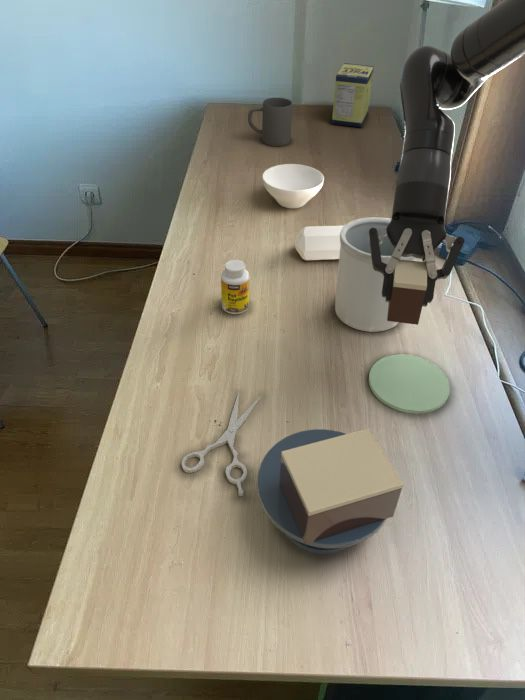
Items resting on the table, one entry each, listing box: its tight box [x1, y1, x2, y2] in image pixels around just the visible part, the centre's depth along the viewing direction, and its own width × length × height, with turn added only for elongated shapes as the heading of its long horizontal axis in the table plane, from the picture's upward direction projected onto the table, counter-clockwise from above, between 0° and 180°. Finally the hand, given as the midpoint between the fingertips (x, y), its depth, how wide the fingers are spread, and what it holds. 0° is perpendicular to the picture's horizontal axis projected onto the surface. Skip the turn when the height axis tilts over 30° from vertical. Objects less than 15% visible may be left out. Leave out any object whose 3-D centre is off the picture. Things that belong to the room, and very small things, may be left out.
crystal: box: [294, 224, 346, 261], centre depth 129 cm, size 7×7×24 cm
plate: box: [368, 353, 451, 415], centre depth 99 cm, size 14×14×1 cm
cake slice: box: [387, 260, 427, 326], centre depth 82 cm, size 4×6×7 cm
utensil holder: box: [334, 217, 418, 333], centre depth 109 cm, size 15×15×18 cm
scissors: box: [181, 391, 263, 497], centre depth 89 cm, size 11×1×20 cm
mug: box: [247, 97, 293, 147], centre depth 176 cm, size 14×9×12 cm
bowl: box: [261, 163, 325, 209], centre depth 147 cm, size 16×16×7 cm
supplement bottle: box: [220, 259, 250, 315], centre depth 112 cm, size 6×6×10 cm
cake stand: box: [257, 428, 404, 555], centre depth 75 cm, size 18×18×15 cm
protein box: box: [331, 62, 375, 128], centre depth 191 cm, size 10×16×16 cm
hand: (406, 302), depth 81 cm, fingers closed on cake slice, 4 cm apart
